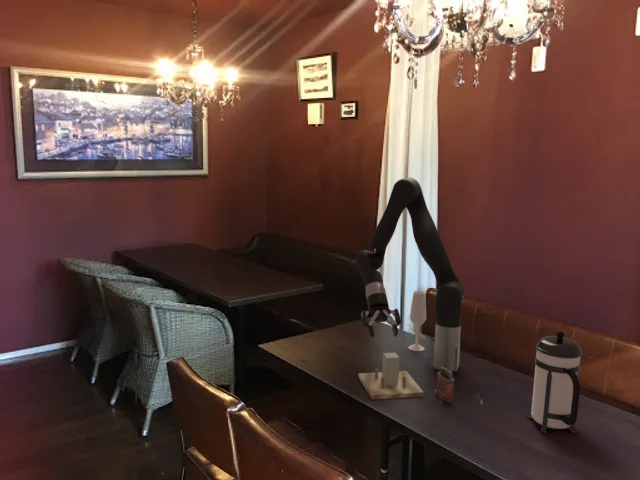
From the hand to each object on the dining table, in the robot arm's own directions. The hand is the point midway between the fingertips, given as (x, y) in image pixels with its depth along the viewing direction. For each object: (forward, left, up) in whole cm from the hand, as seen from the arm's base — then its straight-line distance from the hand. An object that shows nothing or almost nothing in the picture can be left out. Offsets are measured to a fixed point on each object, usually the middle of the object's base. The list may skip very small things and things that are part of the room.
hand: (384, 336), depth 203 cm
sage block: (-4, +8, -14) cm, 16 cm away
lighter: (-23, +9, -15) cm, 29 cm away
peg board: (-4, +8, -15) cm, 18 cm away
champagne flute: (-6, -33, -15) cm, 37 cm away
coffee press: (-57, +17, -15) cm, 62 cm away
